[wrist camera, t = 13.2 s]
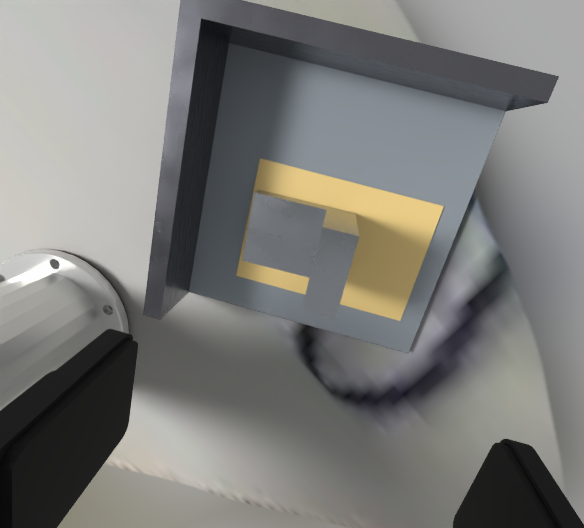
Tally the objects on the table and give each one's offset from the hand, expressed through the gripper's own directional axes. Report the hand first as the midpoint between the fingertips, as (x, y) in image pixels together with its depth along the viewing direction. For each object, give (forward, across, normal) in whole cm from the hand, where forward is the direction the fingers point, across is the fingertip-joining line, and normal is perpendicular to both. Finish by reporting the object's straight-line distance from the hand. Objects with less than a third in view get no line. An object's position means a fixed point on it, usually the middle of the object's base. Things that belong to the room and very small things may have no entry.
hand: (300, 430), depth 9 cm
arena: (+19, 0, -2) cm, 19 cm away
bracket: (+19, +2, 0) cm, 19 cm away
